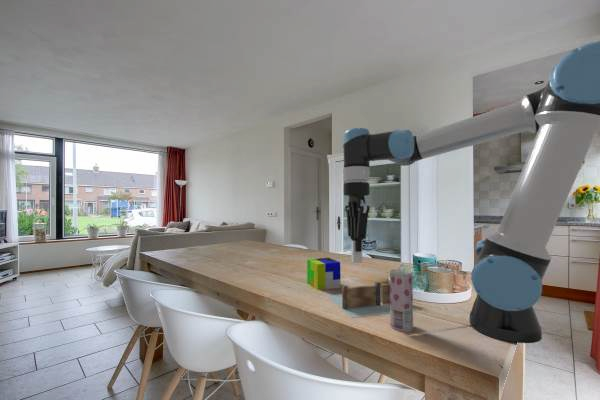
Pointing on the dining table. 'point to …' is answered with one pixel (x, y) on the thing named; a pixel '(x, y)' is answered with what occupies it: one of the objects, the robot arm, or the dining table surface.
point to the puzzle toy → (323, 273)
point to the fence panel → (361, 296)
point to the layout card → (362, 308)
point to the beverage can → (401, 300)
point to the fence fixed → (385, 293)
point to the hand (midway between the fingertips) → (356, 262)
